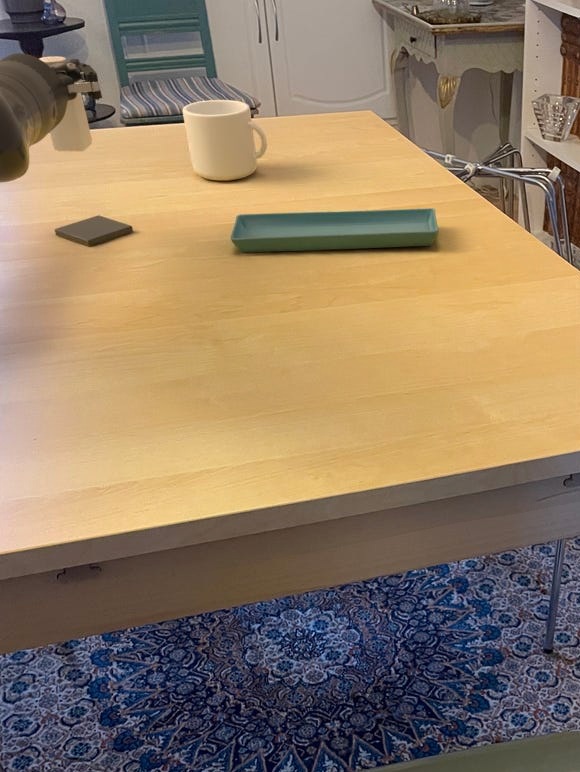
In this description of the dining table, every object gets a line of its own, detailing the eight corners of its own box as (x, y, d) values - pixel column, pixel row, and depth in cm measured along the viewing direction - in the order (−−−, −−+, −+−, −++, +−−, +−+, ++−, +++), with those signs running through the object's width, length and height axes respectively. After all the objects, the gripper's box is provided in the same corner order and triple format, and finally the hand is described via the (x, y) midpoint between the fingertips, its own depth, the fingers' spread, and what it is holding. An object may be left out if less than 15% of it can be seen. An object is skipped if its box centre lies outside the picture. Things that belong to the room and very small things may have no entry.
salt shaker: (86, 152, 114) (64, 62, 108) (53, 152, 114) (28, 62, 108) (94, 143, 117) (73, 55, 111) (61, 144, 117) (38, 55, 111)
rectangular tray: (232, 255, 118) (228, 235, 116) (239, 230, 125) (236, 211, 123) (439, 251, 120) (439, 231, 118) (435, 226, 127) (434, 207, 125)
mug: (283, 166, 146) (275, 101, 140) (260, 186, 139) (250, 118, 133) (210, 161, 148) (199, 96, 142) (183, 181, 140) (171, 113, 134)
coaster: (89, 246, 120) (87, 240, 119) (55, 235, 123) (53, 229, 122) (133, 232, 124) (132, 225, 123) (99, 221, 127) (98, 214, 126)
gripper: (77, 60, 97) (113, 31, 110) (-63, 61, 97) (-10, 32, 109) (96, 140, 102) (129, 103, 115) (-37, 141, 102) (11, 104, 114)
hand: (61, 69), depth 112 cm, fingers closed on salt shaker, 3 cm apart
